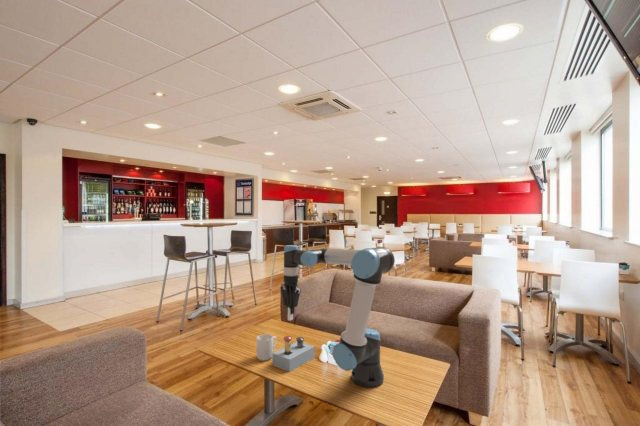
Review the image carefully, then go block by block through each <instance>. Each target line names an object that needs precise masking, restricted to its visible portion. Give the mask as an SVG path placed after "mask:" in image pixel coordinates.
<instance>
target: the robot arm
mask: <svg viewBox="0 0 640 426" xmlns="http://www.w3.org/2000/svg"><path fill="white" fill-rule="evenodd" d="M283 250H284V251H283V282H284V284H283V286H280V290H281V295H282V301H283V305H284V306H285V307H286V313H287V321H289V322H290V321H293V320H294V314H295V308H297V307H298V305H299V300H300V294H301V292H302V289H300V288H299V287H298V283H299V275H298V274H299V266H303V267H314V266H315V265H317V264H331V265H332V264H333V265H334V264H335V265H346V266H351V269H352V273H353V279H354V280H355V284H354V289H353V293H352V299H351V304H350V308H349V312H348V313H349V314H348V317H347V322H346V327H345V330H344V331H342V332H341V334H340V338H339V342H338V343H336V344H335V345H334V346H333V348H332V357H333V360H334V361H335V364H336V365H337V367H339V368H340V369H341V370H343V371H346V372H348V371H351V381H352V382H353V383H354V384H355V385H358V386H361V387H365V388H375V386H376V387H379V386H381V385H382V384H383V383H384V382H383V381H384V380H385V376H384V372H383V369H382V365H381V333H380V332H379V331H378V330H376V329H372V328H367V326H368V322H369V318H370V313H371V311H372V309H371V308H372V305H373V300H374V295H375V292H376V288H377V287H376V286H378V285H380V284H381V282H382V278H383V274H387V273H388V272H390V271H391V270H392V269H393V268H394V266H395V261H396V259H395V255H394V253H393V252H392V251H391V249H389V248H388V247H384V246H379V247H369V248H368V247H367V248H363V249H340V248H339V249H334V248H324V247H323V248H320V249H309V250H308V249H307V250H301V249H299V245H297V244H296V245H295V244H288V245H285V246H284V249H283Z"/></svg>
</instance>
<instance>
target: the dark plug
mask: <svg viewBox="0 0 640 426" xmlns="http://www.w3.org/2000/svg"><path fill="white" fill-rule="evenodd" d="M304 341H305V338H304V337H302V336H300V337H299V336H298V337H296V341H295V342H297V348H299V349H301V348H303V343H304Z"/></svg>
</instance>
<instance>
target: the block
mask: <svg viewBox="0 0 640 426" xmlns="http://www.w3.org/2000/svg"><path fill="white" fill-rule="evenodd" d="M314 358H315V346H314V345H312V344H307V343H305V342H303V348H301V349H299V348H297V341H295V342H293V343H291V354H290V355H286V354H285V347H282V348H280V349H278V350H277V351H273V355H272V358H271V359H272V360H271V361H272V362H271V363H272V366H275V367H277V368H279V369H282V370H284V371H287V372H292V371H294V370H295V369H297V368H299V367H301V366H302V365H304V364H305V363H308V362H309V361H312V360H313V359H314Z"/></svg>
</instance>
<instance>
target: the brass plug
mask: <svg viewBox="0 0 640 426" xmlns="http://www.w3.org/2000/svg"><path fill="white" fill-rule="evenodd" d="M283 341H284V348H285V354H286V355H290V354H291V344H292V336H290V335H285V336H283Z"/></svg>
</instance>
